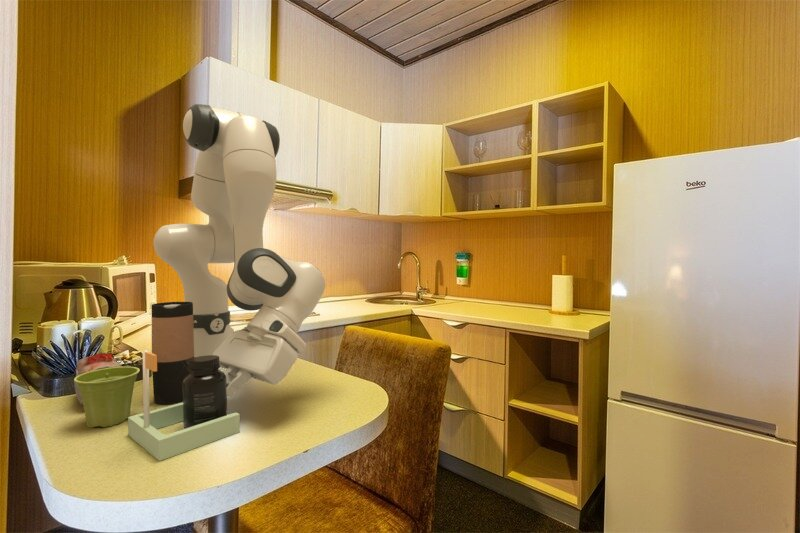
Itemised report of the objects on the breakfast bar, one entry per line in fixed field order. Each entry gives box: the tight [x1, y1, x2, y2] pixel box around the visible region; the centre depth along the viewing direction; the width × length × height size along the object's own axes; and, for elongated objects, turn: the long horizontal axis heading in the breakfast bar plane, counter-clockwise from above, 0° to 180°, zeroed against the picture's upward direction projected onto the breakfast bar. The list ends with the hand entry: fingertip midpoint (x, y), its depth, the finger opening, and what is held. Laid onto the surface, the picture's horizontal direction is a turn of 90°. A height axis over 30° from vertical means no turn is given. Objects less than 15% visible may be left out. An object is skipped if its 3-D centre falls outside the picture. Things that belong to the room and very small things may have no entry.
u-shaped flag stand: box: [127, 349, 241, 462], centre depth 65 cm, size 13×12×15 cm
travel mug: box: [151, 301, 194, 406], centre depth 81 cm, size 8×8×20 cm
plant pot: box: [73, 366, 141, 428], centre depth 70 cm, size 9×9×9 cm
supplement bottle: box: [182, 355, 228, 429], centre depth 67 cm, size 7×7×12 cm
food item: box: [73, 352, 123, 406], centre depth 80 cm, size 14×8×10 cm, turn 47°
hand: (223, 393), depth 70 cm, fingers closed, pressing on supplement bottle
